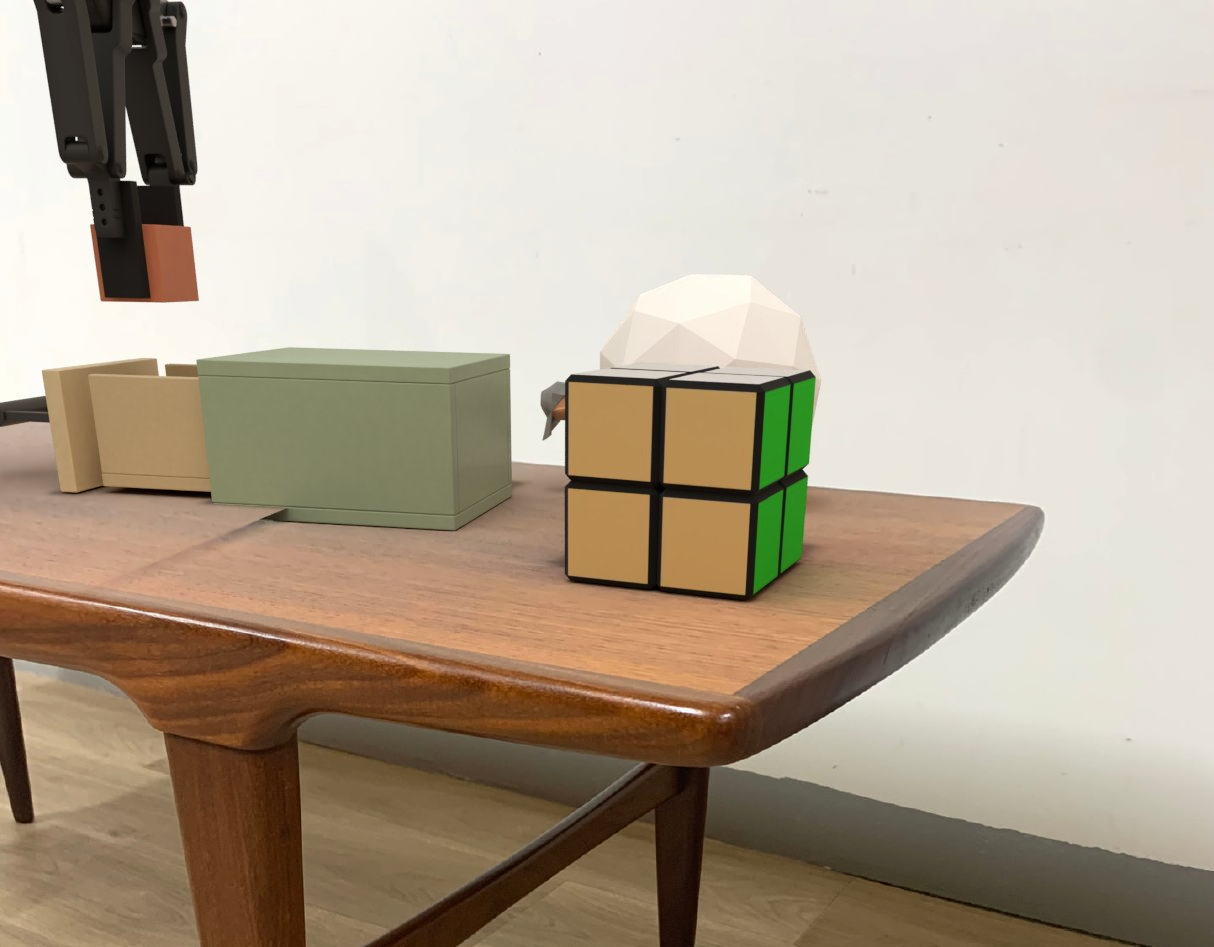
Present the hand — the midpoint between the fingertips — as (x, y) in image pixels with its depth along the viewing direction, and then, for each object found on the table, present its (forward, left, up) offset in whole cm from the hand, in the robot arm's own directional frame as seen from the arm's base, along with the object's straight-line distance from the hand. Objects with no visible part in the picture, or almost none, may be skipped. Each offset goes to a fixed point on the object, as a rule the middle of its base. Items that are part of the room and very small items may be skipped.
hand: (149, 296), depth 80 cm
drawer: (-1, 0, -12) cm, 12 cm away
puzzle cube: (+37, -14, -13) cm, 41 cm away
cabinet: (+14, 0, -13) cm, 19 cm away
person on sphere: (+33, +9, -13) cm, 37 cm away
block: (0, 0, 0) cm, 0 cm away
